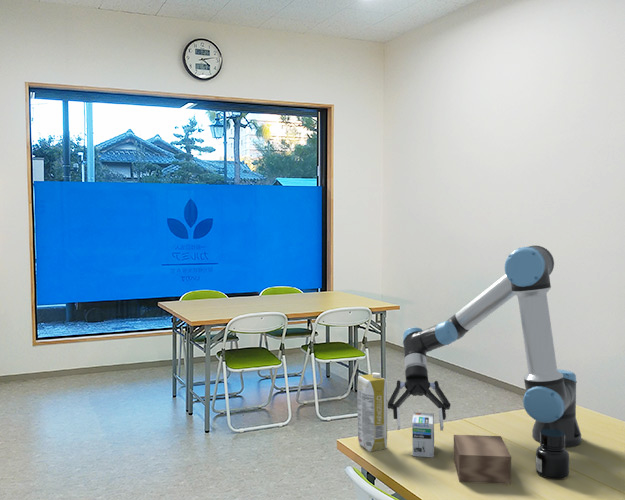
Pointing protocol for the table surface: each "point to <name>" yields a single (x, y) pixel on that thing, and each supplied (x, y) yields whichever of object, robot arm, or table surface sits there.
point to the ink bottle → (552, 455)
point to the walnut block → (482, 459)
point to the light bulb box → (423, 434)
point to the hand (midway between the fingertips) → (420, 428)
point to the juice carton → (372, 411)
